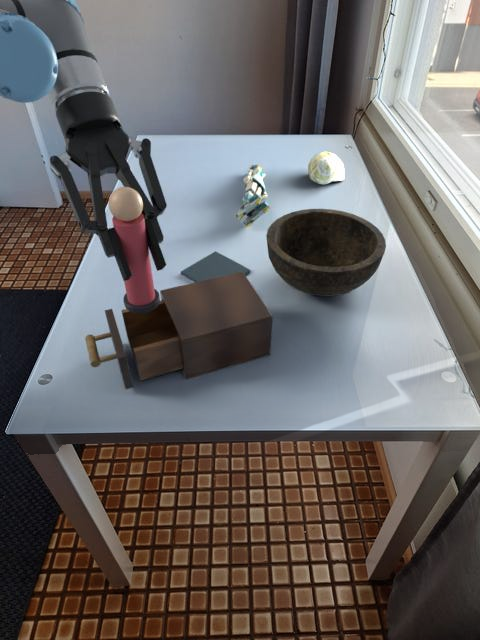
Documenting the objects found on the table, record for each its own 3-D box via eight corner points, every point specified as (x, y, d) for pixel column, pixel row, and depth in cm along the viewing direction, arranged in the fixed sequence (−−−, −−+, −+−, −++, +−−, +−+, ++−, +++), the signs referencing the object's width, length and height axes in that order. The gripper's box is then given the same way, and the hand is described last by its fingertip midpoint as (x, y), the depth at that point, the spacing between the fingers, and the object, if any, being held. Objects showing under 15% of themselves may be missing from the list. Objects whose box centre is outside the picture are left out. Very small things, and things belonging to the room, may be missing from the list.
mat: (180, 273, 95) (180, 271, 95) (215, 253, 101) (215, 251, 101) (215, 294, 90) (215, 292, 90) (250, 272, 96) (250, 269, 95)
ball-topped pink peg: (128, 317, 67) (105, 201, 55) (121, 295, 71) (98, 183, 59) (164, 308, 69) (149, 194, 57) (155, 288, 72) (139, 176, 60)
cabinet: (185, 379, 75) (181, 340, 69) (165, 328, 83) (159, 290, 78) (270, 355, 79) (272, 316, 73) (242, 309, 87) (242, 271, 82)
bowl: (343, 243, 104) (350, 201, 97) (397, 303, 89) (410, 258, 82) (249, 261, 99) (250, 218, 92) (290, 328, 83) (294, 282, 77)
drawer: (99, 397, 71) (89, 366, 66) (88, 346, 79) (79, 316, 74) (209, 365, 76) (207, 334, 71) (189, 321, 83) (186, 290, 79)
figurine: (254, 192, 101) (260, 146, 125) (227, 216, 105) (238, 167, 129) (276, 215, 104) (278, 166, 128) (249, 237, 108) (256, 186, 132)
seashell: (342, 167, 131) (350, 141, 122) (342, 196, 128) (351, 172, 119) (305, 164, 131) (311, 138, 122) (304, 193, 128) (310, 169, 119)
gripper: (140, 110, 69) (196, 261, 69) (17, 130, 62) (79, 297, 62) (149, 79, 62) (211, 248, 62) (12, 98, 55) (81, 287, 56)
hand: (144, 272), depth 62 cm, fingers closed on ball-topped pink peg, 4 cm apart
